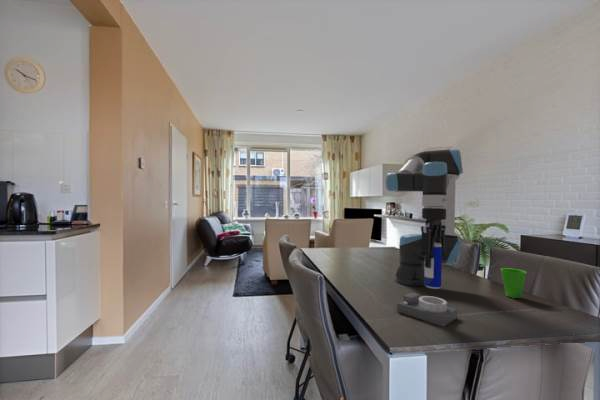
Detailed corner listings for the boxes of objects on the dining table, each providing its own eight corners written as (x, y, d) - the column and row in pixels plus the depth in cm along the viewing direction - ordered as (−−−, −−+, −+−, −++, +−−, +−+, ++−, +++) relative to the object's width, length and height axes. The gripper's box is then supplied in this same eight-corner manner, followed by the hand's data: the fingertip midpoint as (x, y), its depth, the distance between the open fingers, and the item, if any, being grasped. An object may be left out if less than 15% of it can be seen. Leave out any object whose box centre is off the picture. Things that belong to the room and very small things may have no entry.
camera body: (396, 311, 103) (397, 295, 103) (412, 304, 110) (412, 290, 110) (443, 326, 91) (443, 309, 91) (457, 317, 98) (457, 301, 98)
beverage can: (421, 284, 101) (422, 241, 101) (435, 284, 102) (436, 241, 102) (429, 289, 96) (430, 243, 96) (444, 289, 97) (445, 244, 97)
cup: (531, 301, 116) (532, 273, 116) (506, 299, 118) (506, 272, 118) (519, 294, 125) (519, 268, 125) (495, 292, 127) (496, 267, 127)
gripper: (433, 208, 90) (431, 282, 90) (456, 208, 102) (455, 274, 102) (410, 207, 96) (409, 277, 96) (434, 207, 108) (433, 270, 108)
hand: (432, 275), depth 99 cm, fingers closed on beverage can, 5 cm apart
